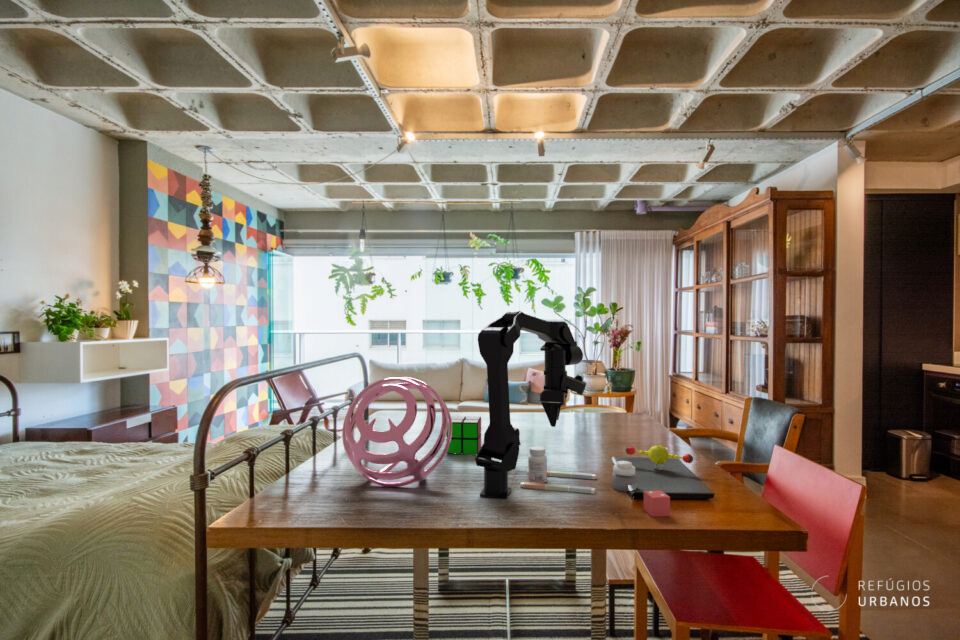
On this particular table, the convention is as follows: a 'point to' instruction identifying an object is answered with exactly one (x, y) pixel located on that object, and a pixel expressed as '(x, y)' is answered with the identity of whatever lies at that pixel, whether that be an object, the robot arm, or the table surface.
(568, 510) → the table surface
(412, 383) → the pink openwork sphere
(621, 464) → the dome
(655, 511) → the red die
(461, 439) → the puzzle cube
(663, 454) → the molecule model
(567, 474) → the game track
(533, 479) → the pill bottle
